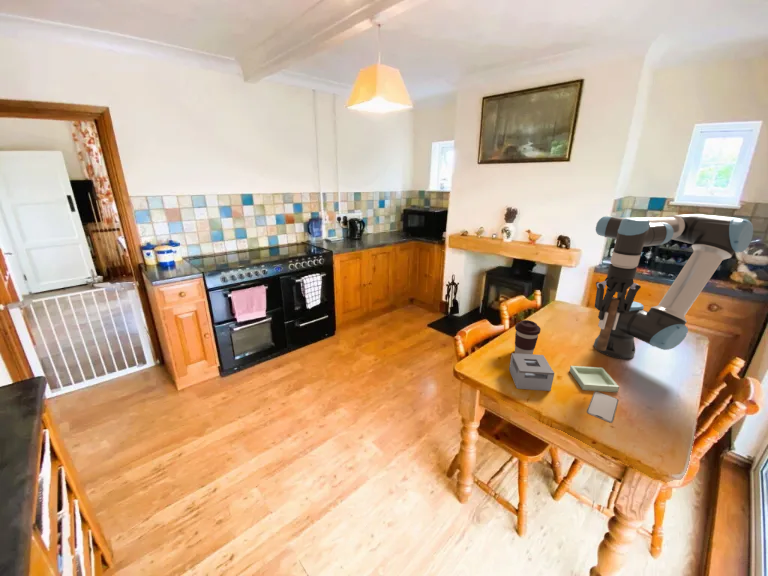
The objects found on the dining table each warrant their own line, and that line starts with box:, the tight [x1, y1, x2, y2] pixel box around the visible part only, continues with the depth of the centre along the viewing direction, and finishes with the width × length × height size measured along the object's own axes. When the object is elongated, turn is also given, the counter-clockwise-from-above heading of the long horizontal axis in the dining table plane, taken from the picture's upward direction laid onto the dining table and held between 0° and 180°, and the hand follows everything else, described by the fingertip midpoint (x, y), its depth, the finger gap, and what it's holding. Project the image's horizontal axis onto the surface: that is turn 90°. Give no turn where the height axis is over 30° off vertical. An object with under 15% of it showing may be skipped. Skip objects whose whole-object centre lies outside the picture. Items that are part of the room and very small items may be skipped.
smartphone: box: [586, 391, 619, 424], centre depth 111 cm, size 7×1×15 cm
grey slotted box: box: [508, 352, 555, 392], centre depth 124 cm, size 12×12×8 cm
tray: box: [569, 365, 620, 393], centre depth 124 cm, size 12×12×2 cm
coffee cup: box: [514, 319, 541, 354], centre depth 140 cm, size 10×10×15 cm
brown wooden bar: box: [595, 296, 620, 351], centre depth 115 cm, size 3×3×20 cm
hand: (606, 327), depth 116 cm, fingers closed on brown wooden bar, 3 cm apart
